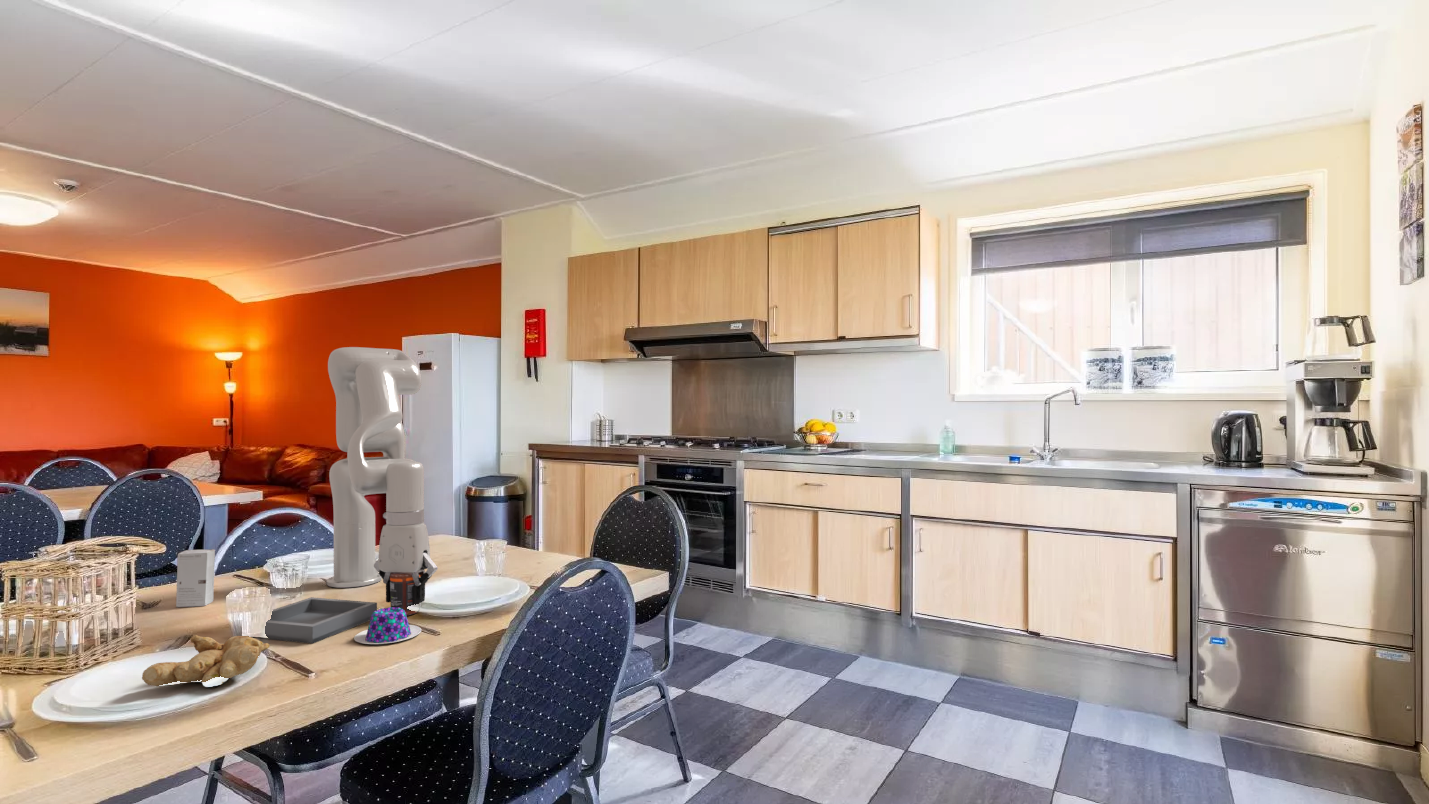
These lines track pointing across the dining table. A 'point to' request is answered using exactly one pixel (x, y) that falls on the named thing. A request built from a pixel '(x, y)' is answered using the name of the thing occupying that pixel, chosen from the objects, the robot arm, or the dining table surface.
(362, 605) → the tray
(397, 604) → the supplement bottle
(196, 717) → the dining table surface
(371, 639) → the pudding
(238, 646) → the ginger root
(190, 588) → the skincare box
